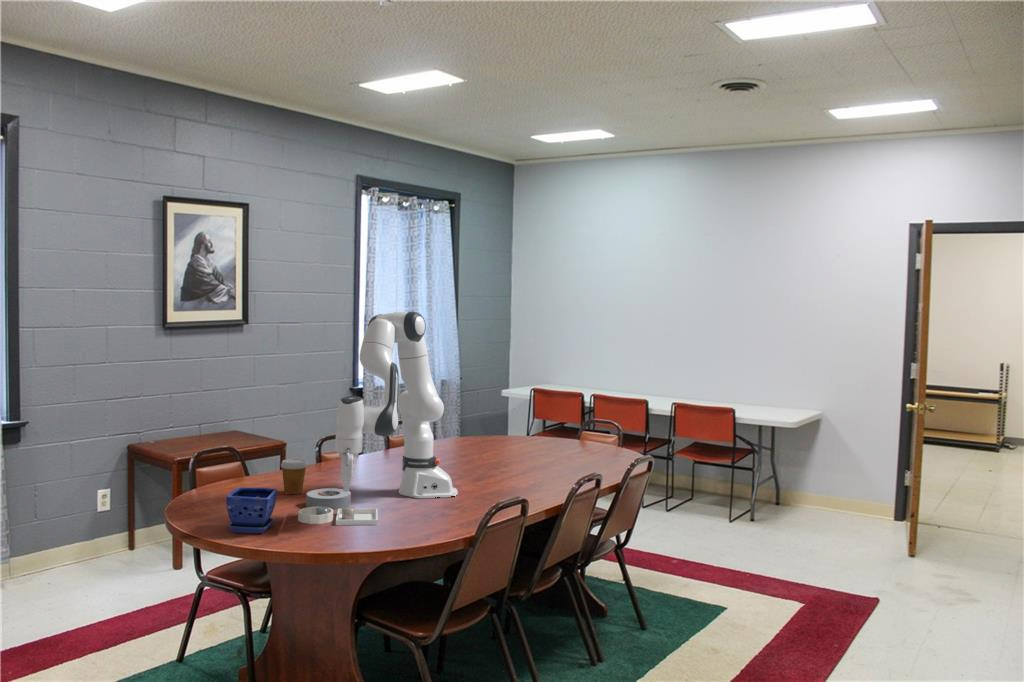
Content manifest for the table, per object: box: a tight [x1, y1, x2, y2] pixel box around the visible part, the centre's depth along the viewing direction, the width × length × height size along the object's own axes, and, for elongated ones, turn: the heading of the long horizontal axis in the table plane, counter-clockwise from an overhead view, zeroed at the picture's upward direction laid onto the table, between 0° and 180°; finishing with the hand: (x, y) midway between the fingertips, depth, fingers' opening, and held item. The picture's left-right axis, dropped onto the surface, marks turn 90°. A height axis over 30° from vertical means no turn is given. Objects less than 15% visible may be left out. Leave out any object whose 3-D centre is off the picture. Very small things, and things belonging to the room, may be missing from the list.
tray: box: [335, 507, 379, 526], centre depth 275 cm, size 13×15×2 cm
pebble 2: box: [342, 506, 355, 520], centre depth 274 cm, size 4×4×4 cm
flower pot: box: [225, 486, 278, 534], centre depth 261 cm, size 13×13×12 cm
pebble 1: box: [316, 507, 328, 515], centre depth 273 cm, size 4×4×4 cm
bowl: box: [297, 506, 334, 525], centre depth 273 cm, size 11×11×4 cm
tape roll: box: [305, 487, 352, 511], centre depth 292 cm, size 15×15×5 cm
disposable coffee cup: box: [280, 458, 308, 495], centre depth 309 cm, size 10×10×12 cm
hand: (346, 487), depth 274 cm, fingers open, 8 cm apart
